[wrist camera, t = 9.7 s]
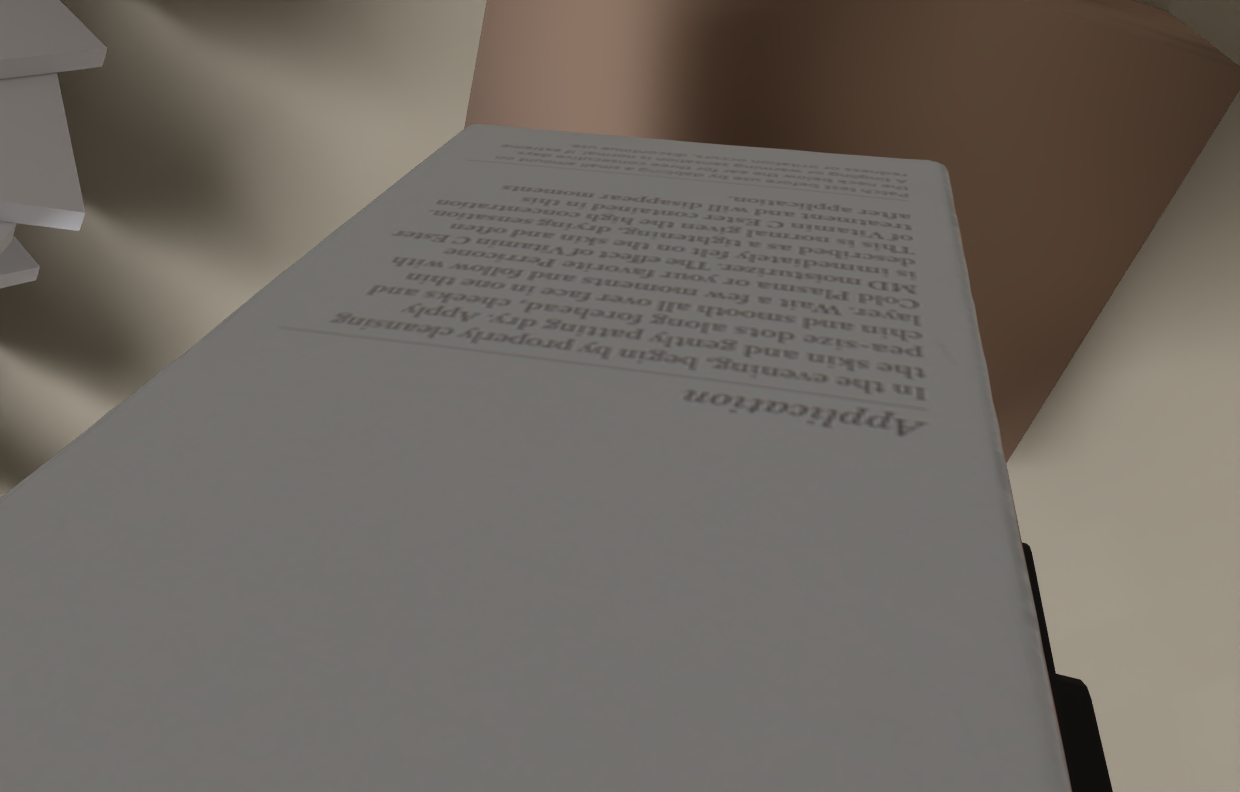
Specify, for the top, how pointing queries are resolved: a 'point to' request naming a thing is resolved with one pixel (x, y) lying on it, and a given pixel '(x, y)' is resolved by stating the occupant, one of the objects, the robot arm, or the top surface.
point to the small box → (552, 503)
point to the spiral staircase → (38, 125)
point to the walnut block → (908, 123)
